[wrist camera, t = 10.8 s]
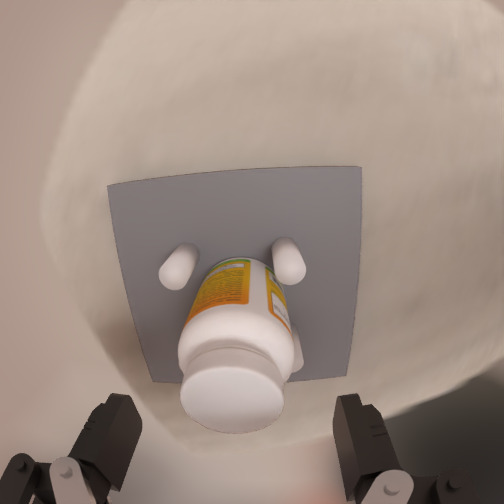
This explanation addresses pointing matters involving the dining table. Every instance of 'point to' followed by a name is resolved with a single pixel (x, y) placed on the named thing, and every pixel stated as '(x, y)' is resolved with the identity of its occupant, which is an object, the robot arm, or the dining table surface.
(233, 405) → the supplement bottle
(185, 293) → the pin holder
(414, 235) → the dining table surface
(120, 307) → the dining table surface
